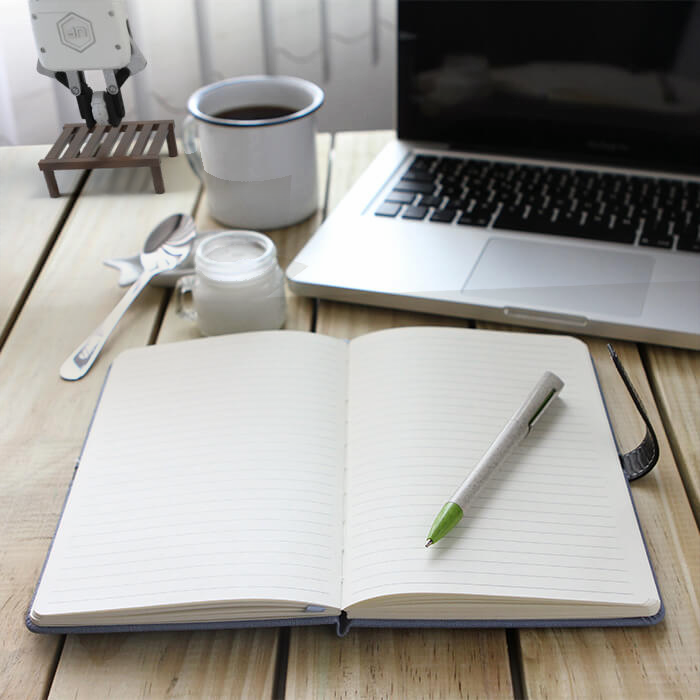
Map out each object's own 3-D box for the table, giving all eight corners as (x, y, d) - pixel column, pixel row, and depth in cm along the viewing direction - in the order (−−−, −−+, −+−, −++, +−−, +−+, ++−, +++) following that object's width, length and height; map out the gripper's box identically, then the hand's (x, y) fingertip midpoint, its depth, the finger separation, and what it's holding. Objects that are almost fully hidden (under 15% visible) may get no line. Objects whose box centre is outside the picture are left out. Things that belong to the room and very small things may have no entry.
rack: (47, 198, 94) (37, 163, 91) (73, 156, 103) (64, 123, 100) (164, 194, 94) (158, 158, 91) (179, 152, 103) (174, 119, 100)
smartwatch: (111, 129, 93) (104, 96, 90) (93, 130, 93) (85, 97, 90) (117, 118, 96) (110, 86, 93) (99, 119, 96) (91, 87, 93)
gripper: (-22, -33, 80) (29, 139, 91) (135, -39, 80) (166, 133, 91) (2, -49, 86) (47, 114, 97) (148, -55, 86) (176, 109, 97)
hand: (105, 122), depth 94 cm, fingers closed on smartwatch, 2 cm apart
